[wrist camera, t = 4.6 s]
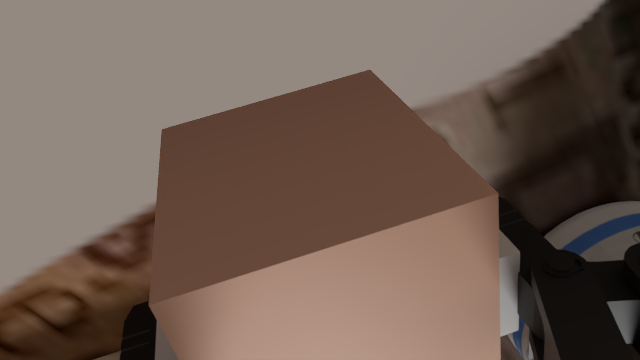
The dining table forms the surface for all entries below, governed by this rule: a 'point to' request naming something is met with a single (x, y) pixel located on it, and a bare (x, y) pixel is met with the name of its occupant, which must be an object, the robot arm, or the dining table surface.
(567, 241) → the supplement tub
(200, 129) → the terracotta block
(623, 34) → the dining table surface
